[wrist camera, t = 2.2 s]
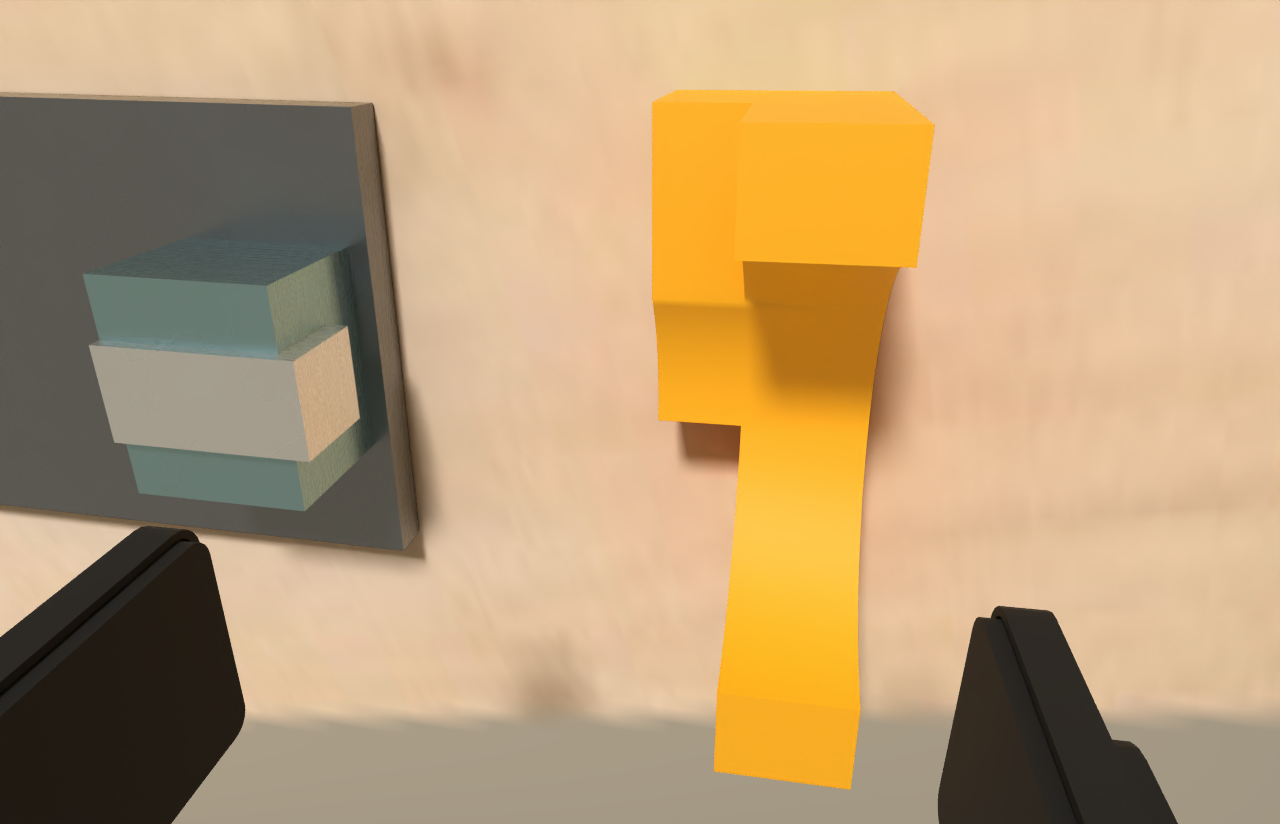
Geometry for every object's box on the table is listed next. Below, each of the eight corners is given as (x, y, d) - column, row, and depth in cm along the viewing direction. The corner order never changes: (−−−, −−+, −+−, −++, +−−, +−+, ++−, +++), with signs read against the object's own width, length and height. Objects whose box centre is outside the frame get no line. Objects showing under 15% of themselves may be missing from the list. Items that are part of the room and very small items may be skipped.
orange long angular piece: (677, 89, 18) (615, 120, 12) (893, 91, 17) (934, 124, 12) (671, 573, 23) (625, 759, 17) (840, 589, 22) (850, 789, 16)
